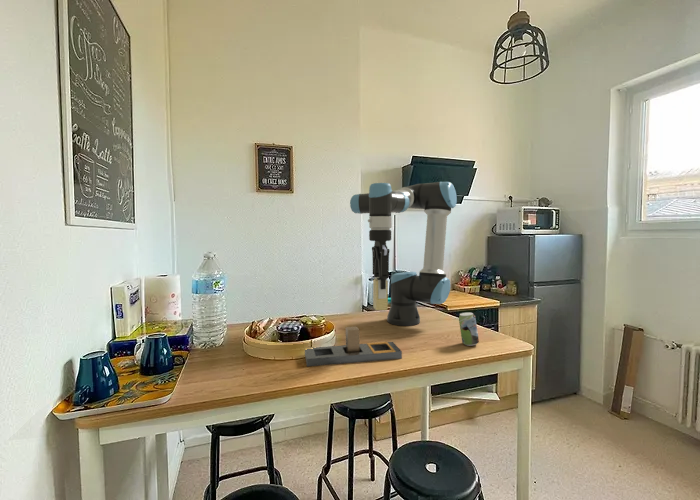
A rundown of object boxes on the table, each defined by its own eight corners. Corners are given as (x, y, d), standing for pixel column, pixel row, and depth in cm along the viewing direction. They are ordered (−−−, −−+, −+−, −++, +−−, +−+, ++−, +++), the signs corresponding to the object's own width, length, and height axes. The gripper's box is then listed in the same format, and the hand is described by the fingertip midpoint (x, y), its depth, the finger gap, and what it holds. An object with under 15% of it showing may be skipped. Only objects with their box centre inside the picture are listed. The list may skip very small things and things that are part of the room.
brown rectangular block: (345, 355, 121) (345, 327, 121) (357, 354, 122) (356, 326, 121) (347, 359, 117) (347, 330, 117) (359, 358, 118) (359, 329, 117)
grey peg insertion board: (304, 355, 122) (304, 347, 121) (392, 348, 128) (392, 341, 127) (306, 366, 112) (306, 358, 112) (401, 358, 118) (401, 350, 118)
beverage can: (480, 347, 127) (480, 315, 127) (459, 346, 129) (459, 314, 128) (477, 342, 134) (478, 311, 133) (457, 341, 135) (457, 310, 134)
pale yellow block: (373, 307, 122) (373, 279, 121) (384, 307, 123) (384, 279, 122) (376, 310, 118) (376, 281, 117) (387, 309, 119) (387, 280, 118)
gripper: (363, 229, 126) (364, 292, 128) (376, 229, 109) (376, 302, 111) (383, 228, 128) (383, 291, 129) (398, 229, 111) (398, 301, 113)
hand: (380, 296), depth 120 cm, fingers closed on pale yellow block, 4 cm apart
